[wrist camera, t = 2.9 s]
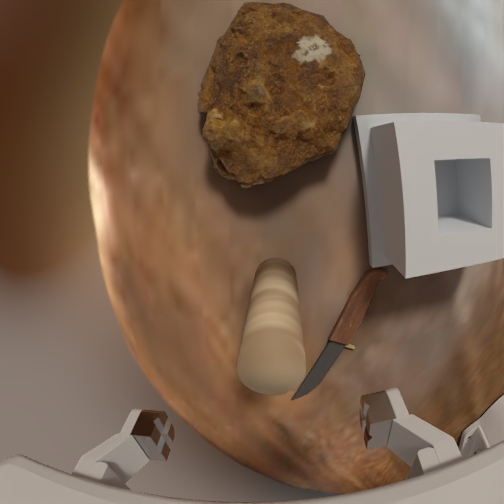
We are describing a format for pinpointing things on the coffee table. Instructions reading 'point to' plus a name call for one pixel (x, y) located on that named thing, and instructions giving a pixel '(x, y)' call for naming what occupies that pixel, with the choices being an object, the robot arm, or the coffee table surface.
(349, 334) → the knife
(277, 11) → the decorative rock
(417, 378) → the coffee table surface
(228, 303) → the coffee table surface
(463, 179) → the socket
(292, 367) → the peg
